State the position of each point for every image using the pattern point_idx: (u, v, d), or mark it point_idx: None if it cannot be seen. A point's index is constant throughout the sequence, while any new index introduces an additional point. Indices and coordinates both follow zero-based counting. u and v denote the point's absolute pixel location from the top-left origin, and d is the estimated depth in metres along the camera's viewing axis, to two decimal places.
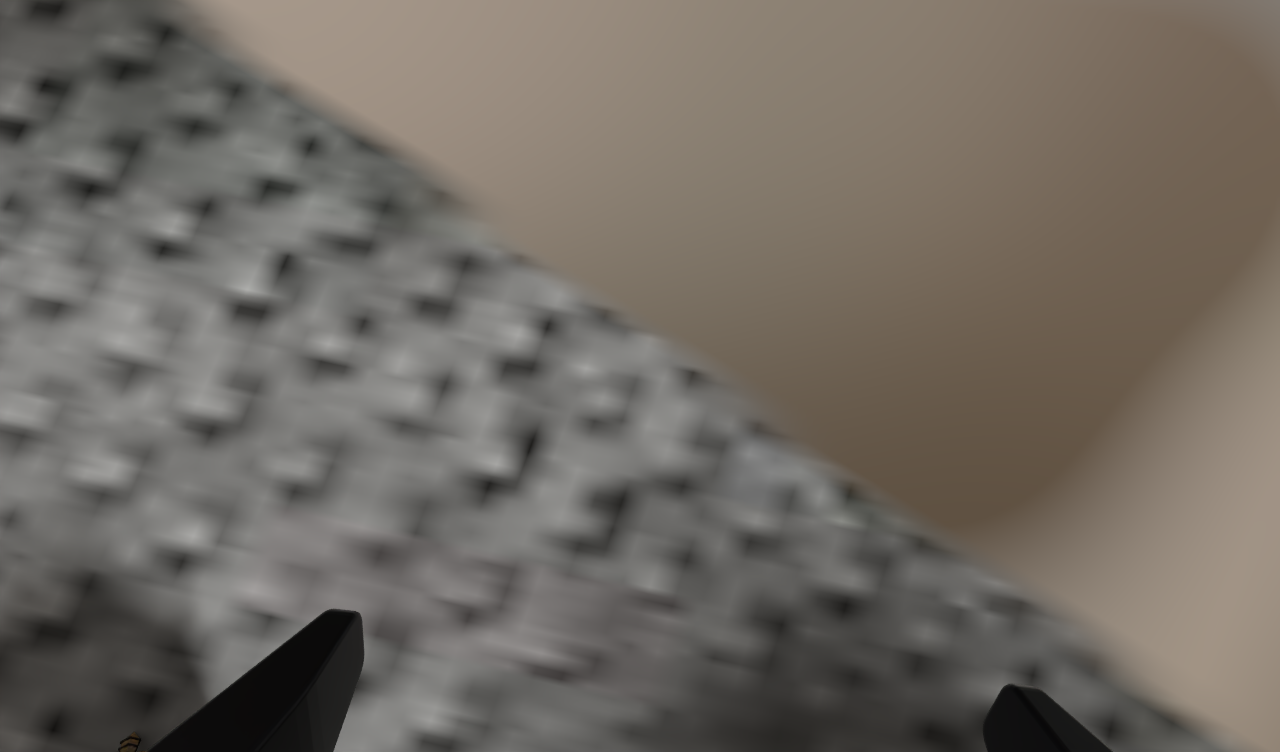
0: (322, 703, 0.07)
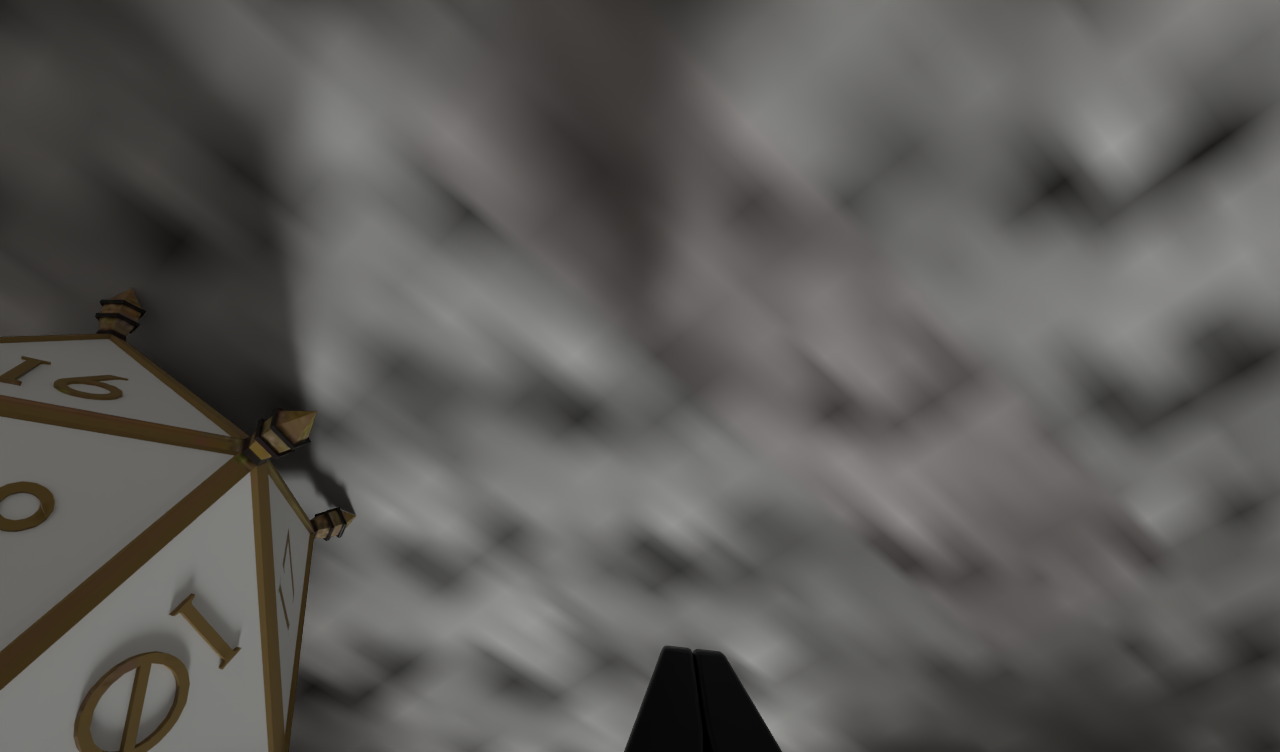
0: None
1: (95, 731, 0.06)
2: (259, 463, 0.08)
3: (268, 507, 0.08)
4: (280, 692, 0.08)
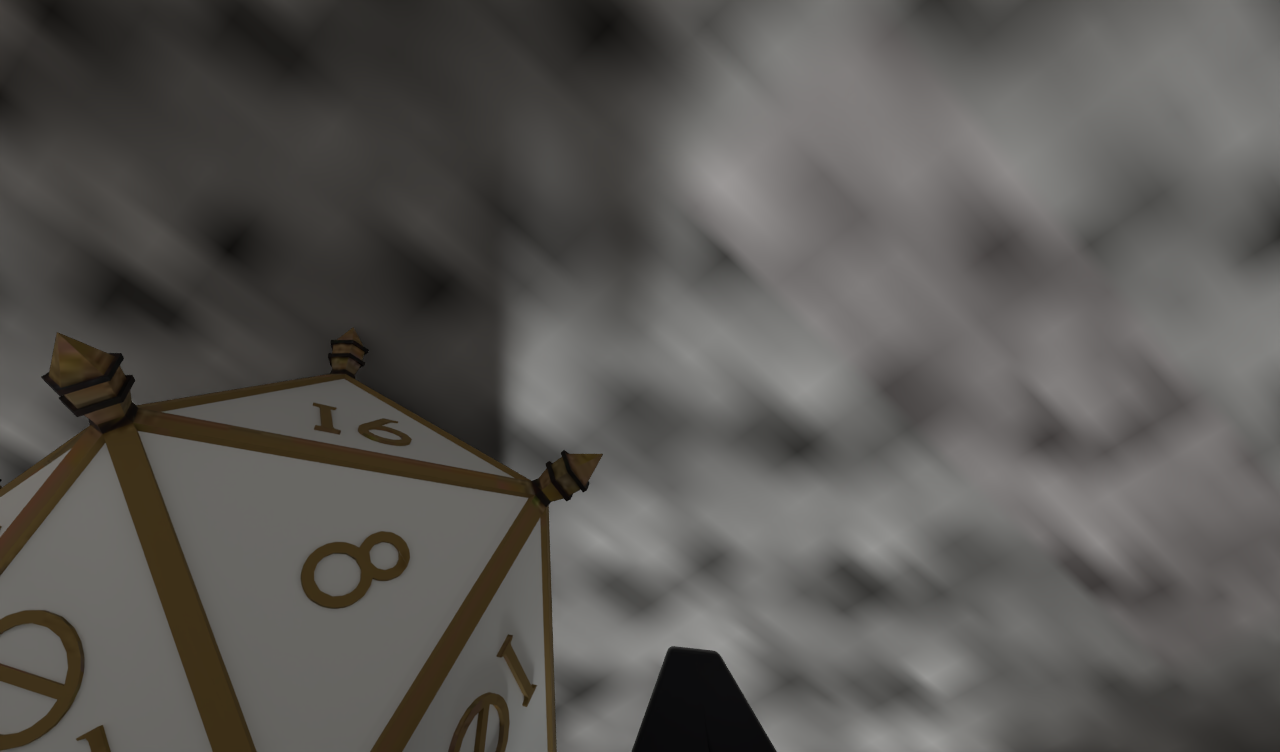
0: None
1: None
2: (547, 505, 0.08)
3: (549, 547, 0.08)
4: (555, 726, 0.08)
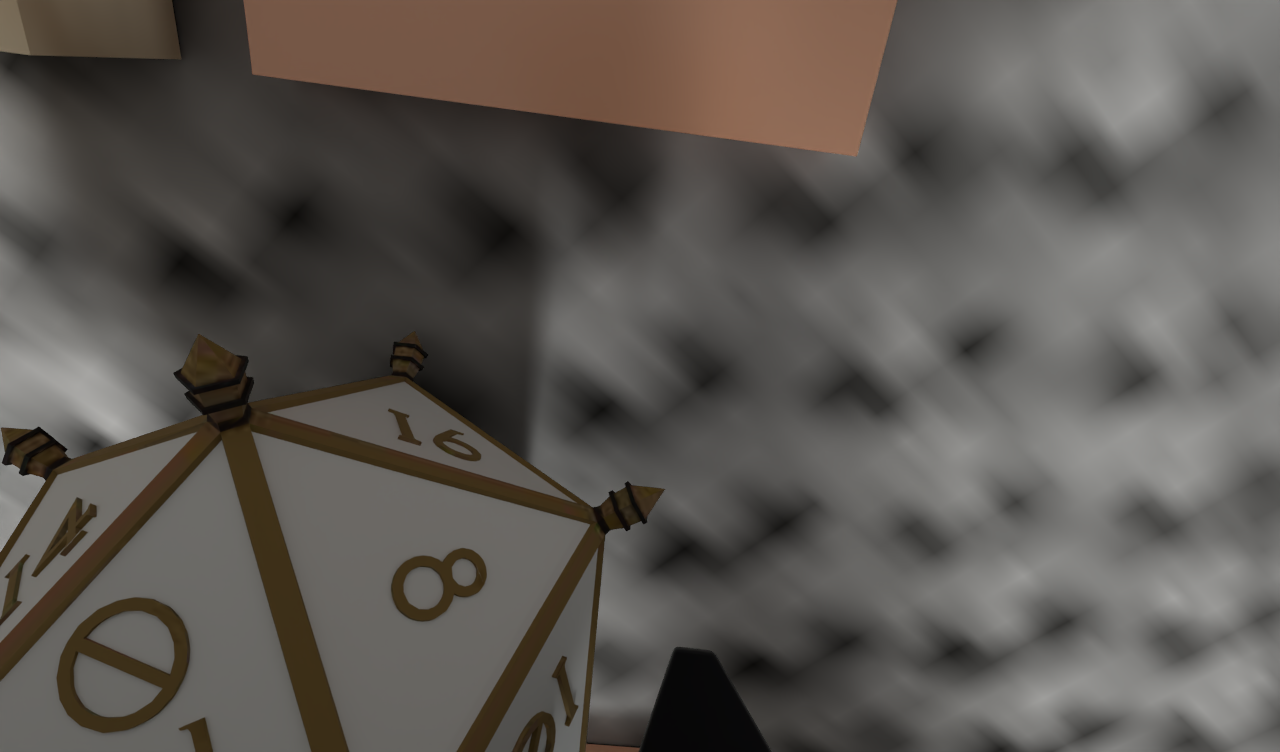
0: None
1: None
2: (606, 532, 0.08)
3: None
4: (585, 745, 0.09)
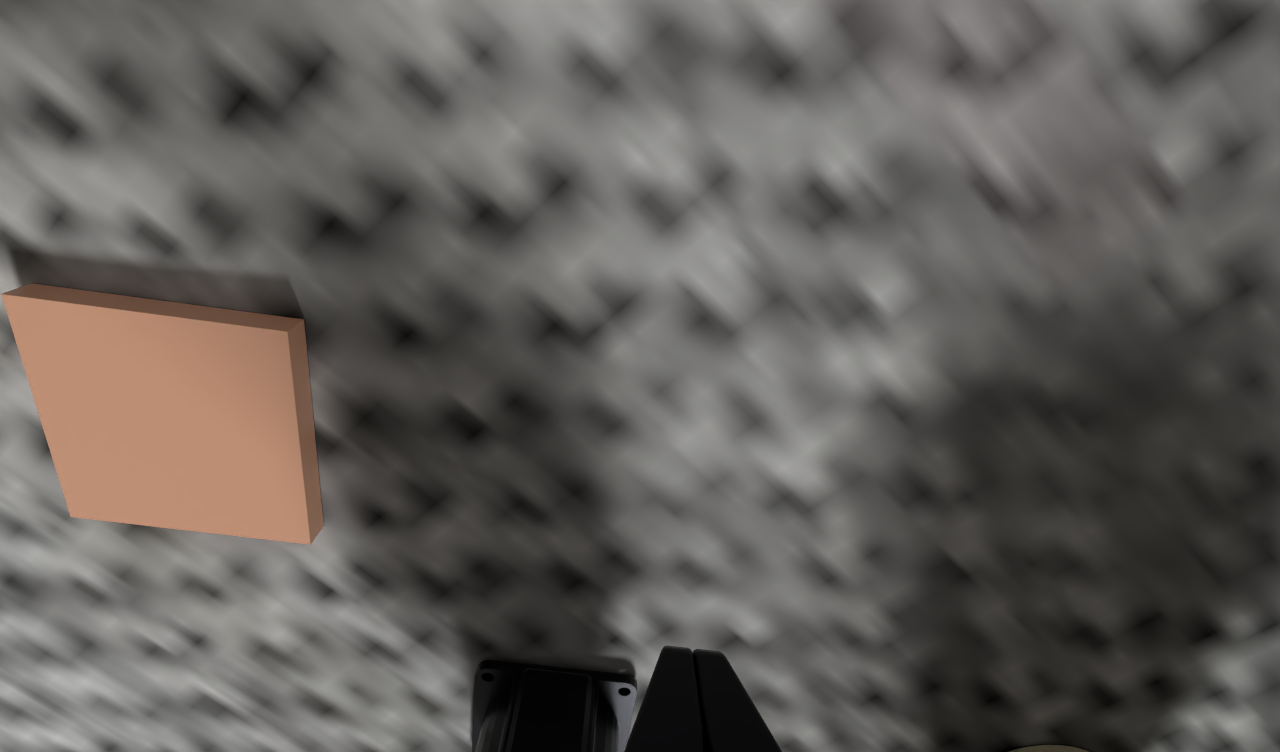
0: None
1: None
2: None
3: None
4: None
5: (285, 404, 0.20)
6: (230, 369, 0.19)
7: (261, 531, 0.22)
